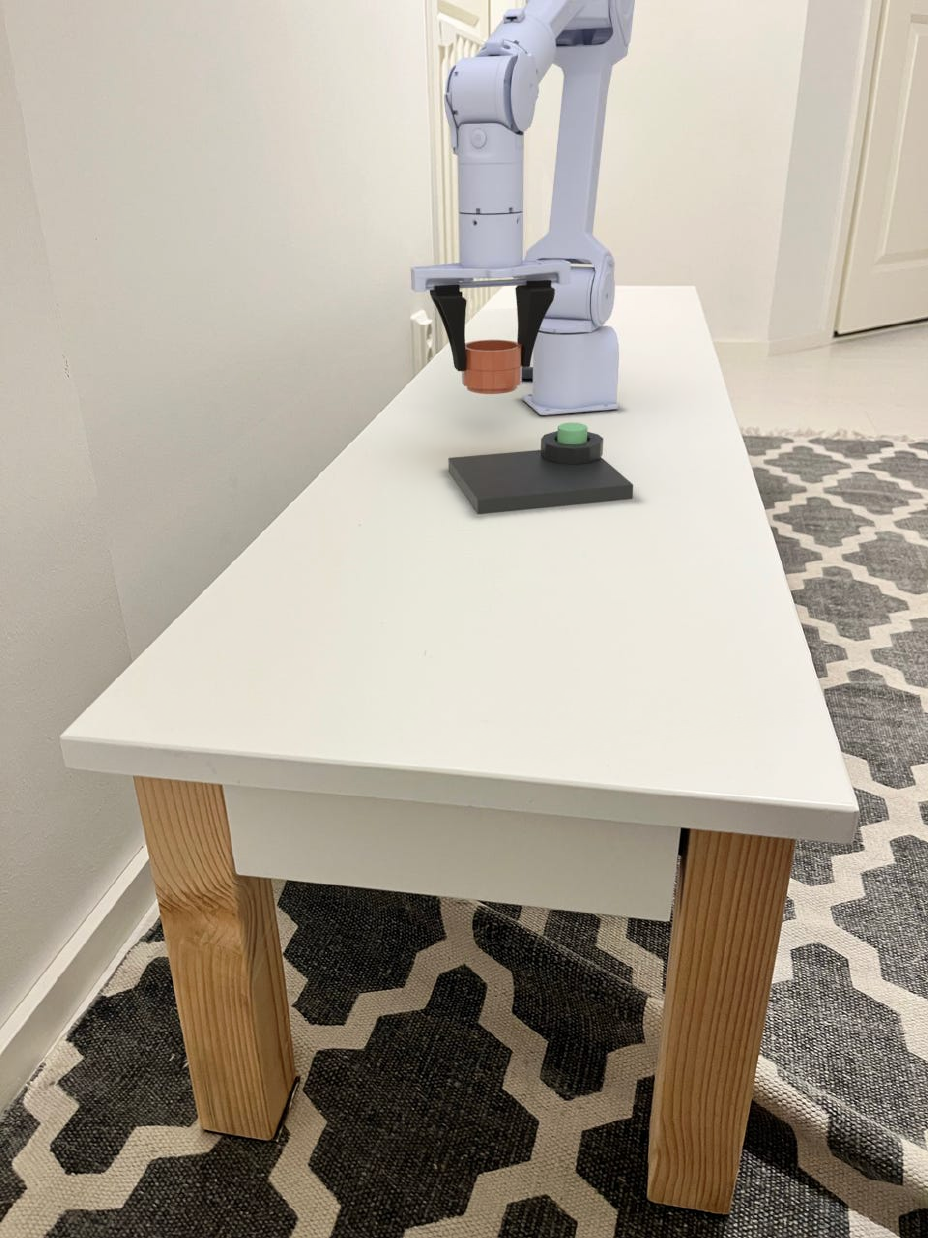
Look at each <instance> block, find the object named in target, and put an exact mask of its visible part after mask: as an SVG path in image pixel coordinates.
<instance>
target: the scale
mask: <svg viewBox="0 0 928 1238" xmlns="http://www.w3.org/2000/svg"><path fill="white" fill-rule="evenodd" d="M557 433H558V430H555V431H552V432H549V433H546V434H544V435H543V436H542V437H541V438H540V449H534V450H533V449H532V450H523V451H521V450H520V451H510V452H501V453H500V452H499V453H488V454H478V455H465V456H455V457H448V459H447V461H448V462H447V463H448V472H449V474H450V476H451V477H452V479H454V482H455V483H456V484H457V486H458V487H459V489H460V490H461V492H462V493H463V495H464V496H465V498H466V499H467V500H468V502H469V503H470V505H471V507H472V508H473V510H474V511H475V512H476V514H477V515H485V514H494V513H504V512H516V511H523V510H524V511H525V510H534V509H543V508H545V509H546V508H555V507H565V506H575V505H585V504H595V503H604V502H605V503H606V502H615V501H623V500H624V501H625V500H633V497H634V495H633V494H634V484H633V483H632V482H631V481H630V480H628V479H627V478H626V477H625V476H624V475H623V474H622V473H621V472H619V471H618V470H617V469H615V468H614V467H613V466H612V465H611V464H610V463H609V462H608V461H606V460H605V459H604V458H603V454H604V437H602V436H601V435H600V434H598V433H594V432H590V431H587V442H586V443H583V444H563V443H559V442H557Z"/></svg>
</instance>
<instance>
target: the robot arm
mask: <svg viewBox="0 0 928 1238" xmlns="http://www.w3.org/2000/svg"><path fill="white" fill-rule="evenodd" d="M635 4H636V0H525V5H524V7H522V8H509V9H507V10H506V11H505V13H504V14H503V16H502V17H503V18H502V19H501V20H500V22H499V23H498V25H497V26H496V27H495V29H494V30H493V32H492V33H491V34H490V36H489V37H488V38H487V39H486V41H485V42H484V44H483V45H482V46H481V48H480V49H479V50H478V51H477V53H476V54H475V56H472V57H471V56H470V57H462V58H460V59H459V60H458V62H457V63H456V64H454V65H452V66H451V67H450V69H449V70H448V73H447V76H446V81H445V89H444V94H443V104H444V112H445V116H446V120H447V123H448V126H449V130H450V131H449V132H450V147H451V149H452V154H453V155H456V156H457V190H458V191H457V192H458V193H457V194H458V196H457V197H458V200H457V201H458V245H459V247H458V249H459V252H458V253H459V262H455V263H443V264H433V265H422V266H421V265H419V266H411V267H410V287H411V290H412V291H413V292H414V293H420V292H423V293H424V292H426V291H429V295H430V297H431V301H432V302H433V304H434V306H435V308H436V310H437V312H438V315H439V317H440V319H441V321H442V324H443V327H444V330H445V332H446V336H447V338H448V342H449V346H450V349H451V354H452V360H453V367H454V369H455V370H456V371H457V372H462V371H466V350H465V343H466V337H465V335H466V334H465V333H466V311H467V301H468V300H467V299H466V298H465V297H464V296H463V291H461V289H476V288H498V287H514V286H515V288H514V289H515V290H514V291H515V299H516V313H517V340H516V342H518V343H520V344H521V345H522V367H530V362H531V357H532V352H533V379H532V393H529V394H522V395H521V399H522V400H523V402H525V403H526V404H527V405H528V406H530V407H531V408H532V409H533V410H534V412H536V413H537V414H538V415H540V416H549V415H562V414H573V413H584V412H585V413H587V412H599V411H609V410H610V411H611V410H618V409H619V406H620V405H619V404H618V403H617V400H618V384H619V383H618V382H619V381H618V379H619V366H620V365H619V363H620V346H619V345H620V344H619V340H618V336H617V332H616V331H615V328H614V327H613V326H610V325H605V324H606V322H608V321H609V320H610V318H611V316H612V313H613V308H614V305H615V304H614V303H615V296H616V283H615V282H616V281H615V267H616V266H615V265H616V263H615V258H614V256H613V254H612V252H611V251H610V250H609V249H608V248H607V247H606V246H605V245H604V244H602V242H601V241H599V240H598V239H597V237H595V236H594V226H595V225H594V224H595V215H596V206H597V197H598V187H599V178H600V168H601V161H602V150H603V141H604V131H605V122H606V113H607V103H608V96H609V88H610V83H611V77H612V72H613V67H614V66H615V65H616V64H618V63H619V62H620V61H621V60H623V59H625V58H626V57H627V56H628V54H629V46H630V45H629V44H630V43H631V40H632V32H633V31H632V30H633V23H634V22H633V21H634V12H635ZM552 65H555V66H556V67H558V68H560V69H561V71H562V74H563V81H562V93H561V103H560V114H559V123H558V132H557V133H558V134H557V135H558V136H557V144H556V154H555V162H554V163H555V164H554V172H553V173H554V174H553V182H552V183H553V185H552V194H551V205H550V215H549V226H548V232H547V233H546V234H545V235H544V236H543V237H541V238H540V239H539V240H538V241H536V242H535V243H534V244H533V245H531V246H530V247H529V248H528V249H526V251H525V255H524V160H525V158H524V157H525V156H524V155H525V153H524V152H525V149H524V148H525V146H524V145H525V143H524V142H525V132H526V131H528V129H529V128H531V126H532V124H533V120H534V116H535V110H536V103H537V100H538V99H539V93H540V87H539V86H540V83H541V82H542V80H543V79H544V78H545V76H546V75H547V73H548V71H549V70H550V68H551V66H552ZM523 255H524V256H523ZM523 257H524V258H523ZM576 265H579V266H576ZM580 265H592V266H580ZM507 278H508V279H507ZM509 278H511V279H509ZM474 279H487V280H474Z"/></svg>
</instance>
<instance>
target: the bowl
mask: <svg viewBox="0 0 928 1238" xmlns="http://www.w3.org/2000/svg"><path fill="white" fill-rule="evenodd" d="M465 350H466V371H461V381H462V382H461V383H462V385H463V386H465V387H466V390H467V391H469V392H471V393H475V394H480V395H481V394H482V395H501V394H508V393H513V392H514V391H516V390H517V389H518V386H520V385H521V384H522V381H523V379H522V345H521V344H520V343H518V342H517V341H514V340H507V339H480V340H473V341H468V342H465Z"/></svg>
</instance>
